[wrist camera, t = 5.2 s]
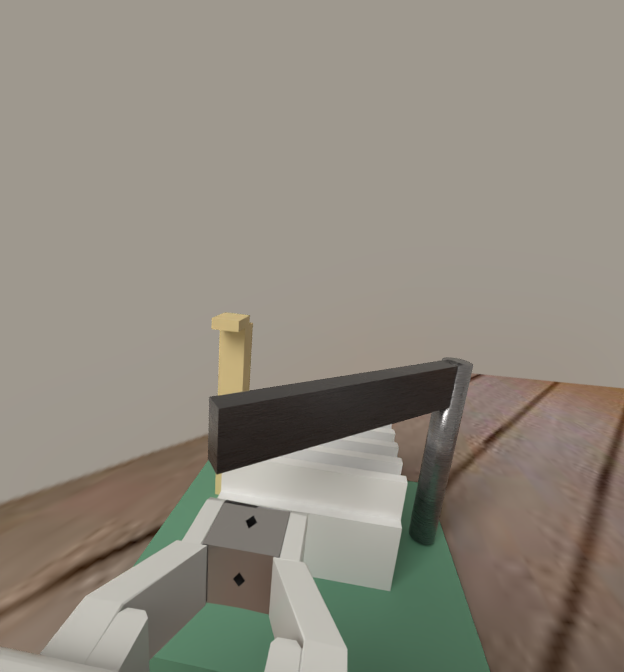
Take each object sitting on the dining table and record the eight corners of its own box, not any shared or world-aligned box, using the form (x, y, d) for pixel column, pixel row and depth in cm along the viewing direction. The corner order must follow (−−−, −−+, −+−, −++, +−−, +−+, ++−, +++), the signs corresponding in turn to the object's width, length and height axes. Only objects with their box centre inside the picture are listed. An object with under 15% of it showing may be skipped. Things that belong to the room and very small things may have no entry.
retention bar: (419, 521, 28) (453, 356, 24) (439, 538, 26) (479, 365, 23) (201, 643, 18) (206, 393, 14) (213, 683, 16) (222, 413, 13)
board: (424, 494, 33) (458, 328, 29) (505, 750, 16) (616, 429, 12) (214, 461, 35) (218, 301, 31) (82, 657, 18) (52, 354, 14)
